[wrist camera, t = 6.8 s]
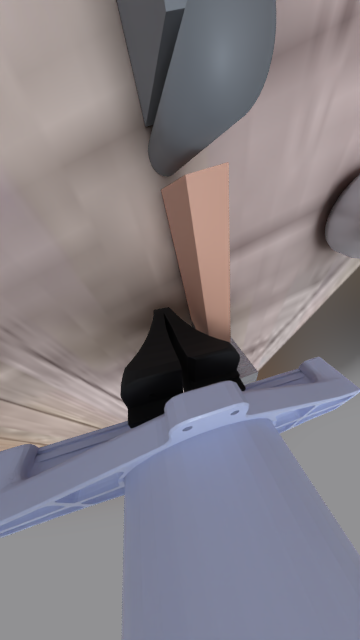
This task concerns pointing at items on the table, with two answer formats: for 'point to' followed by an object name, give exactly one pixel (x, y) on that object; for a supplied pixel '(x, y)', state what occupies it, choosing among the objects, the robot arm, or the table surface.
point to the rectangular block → (203, 245)
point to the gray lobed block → (196, 69)
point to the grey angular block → (245, 366)
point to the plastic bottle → (345, 222)
